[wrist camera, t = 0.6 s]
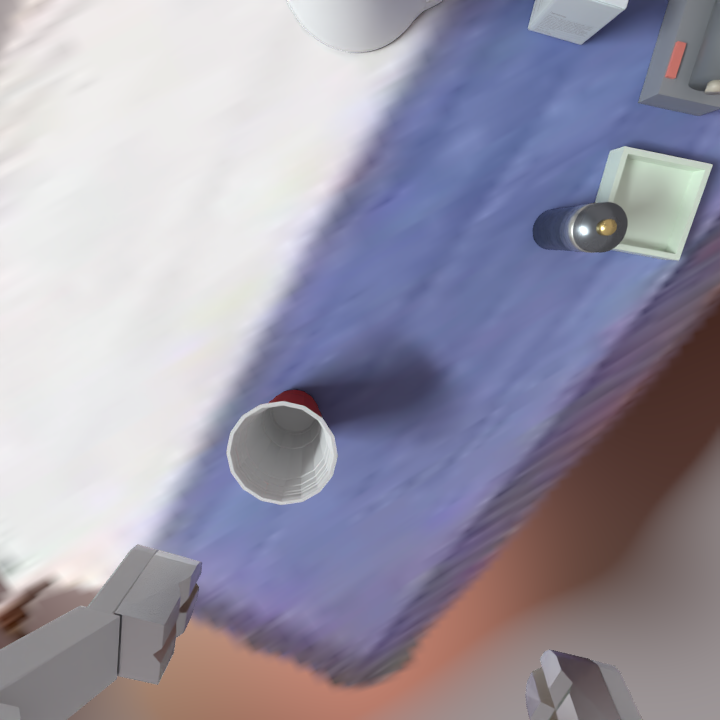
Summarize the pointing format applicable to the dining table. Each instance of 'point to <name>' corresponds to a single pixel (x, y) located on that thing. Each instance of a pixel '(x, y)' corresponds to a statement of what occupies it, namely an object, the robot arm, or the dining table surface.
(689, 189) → the tray
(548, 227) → the battery cell
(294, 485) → the plastic cup
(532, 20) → the product box
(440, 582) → the dining table surface
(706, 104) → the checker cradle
